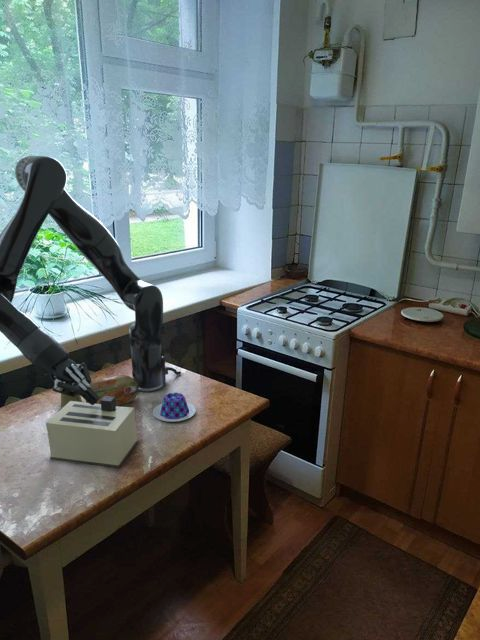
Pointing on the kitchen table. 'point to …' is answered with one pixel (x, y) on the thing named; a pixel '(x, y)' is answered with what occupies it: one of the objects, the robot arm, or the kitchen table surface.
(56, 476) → the kitchen table surface
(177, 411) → the pudding
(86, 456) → the toaster
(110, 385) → the tin
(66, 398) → the pepper mill
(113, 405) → the slider button
